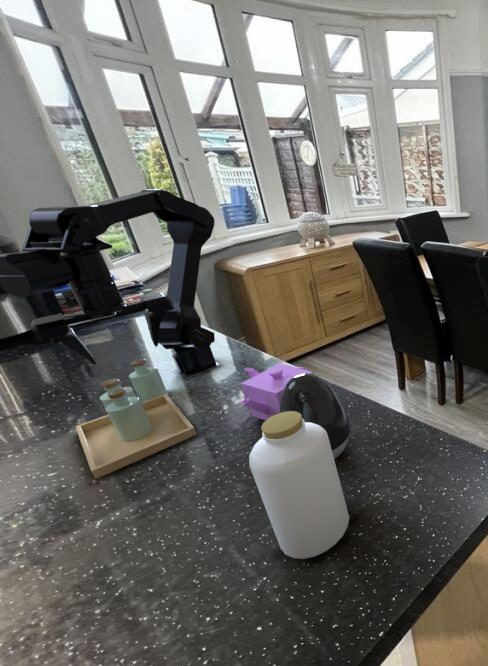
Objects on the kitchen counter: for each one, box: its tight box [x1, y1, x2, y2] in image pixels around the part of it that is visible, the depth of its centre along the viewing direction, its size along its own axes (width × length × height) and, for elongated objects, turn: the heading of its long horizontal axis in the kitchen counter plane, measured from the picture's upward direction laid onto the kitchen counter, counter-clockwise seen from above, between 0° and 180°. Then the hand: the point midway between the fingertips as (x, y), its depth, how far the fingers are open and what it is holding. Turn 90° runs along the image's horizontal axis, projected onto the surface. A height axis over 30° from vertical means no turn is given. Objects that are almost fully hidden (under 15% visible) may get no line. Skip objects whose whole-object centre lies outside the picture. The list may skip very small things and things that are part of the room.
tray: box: [75, 394, 198, 479], centre depth 71 cm, size 13×18×2 cm
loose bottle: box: [128, 358, 169, 403], centre depth 80 cm, size 4×4×9 cm
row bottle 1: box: [99, 377, 137, 410], centre depth 72 cm, size 4×4×9 cm
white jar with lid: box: [248, 411, 350, 560], centre depth 48 cm, size 8×8×18 cm
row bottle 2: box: [104, 388, 153, 442], centre depth 69 cm, size 4×4×9 cm
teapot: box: [240, 363, 315, 421], centre depth 73 cm, size 18×13×10 cm
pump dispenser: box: [279, 373, 352, 460], centre depth 62 cm, size 10×10×15 cm
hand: (126, 354), depth 78 cm, fingers open, 9 cm apart
